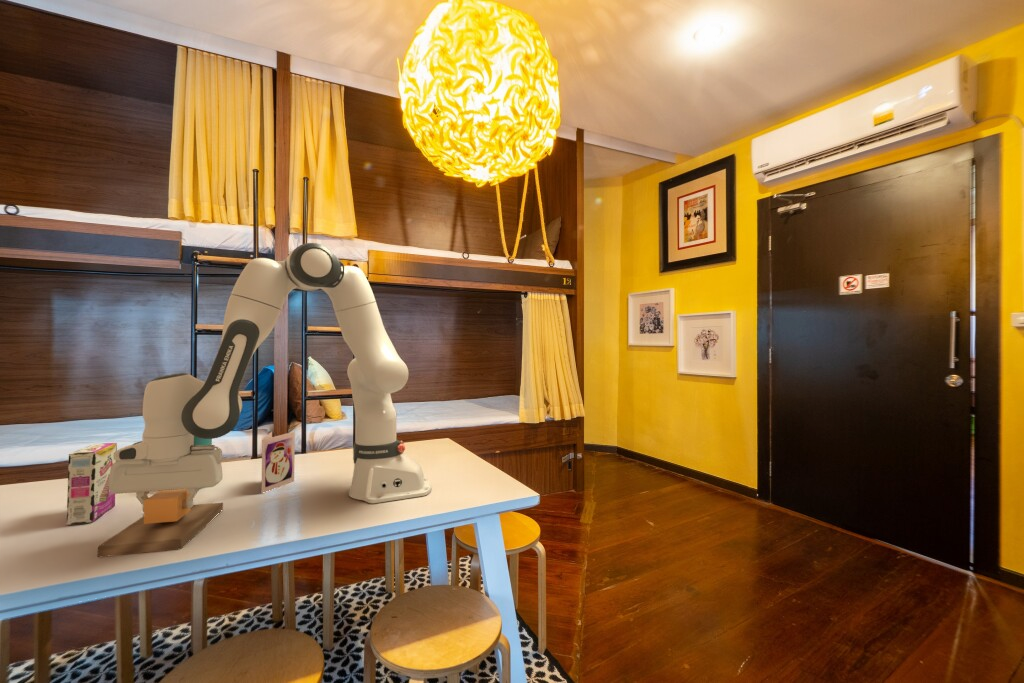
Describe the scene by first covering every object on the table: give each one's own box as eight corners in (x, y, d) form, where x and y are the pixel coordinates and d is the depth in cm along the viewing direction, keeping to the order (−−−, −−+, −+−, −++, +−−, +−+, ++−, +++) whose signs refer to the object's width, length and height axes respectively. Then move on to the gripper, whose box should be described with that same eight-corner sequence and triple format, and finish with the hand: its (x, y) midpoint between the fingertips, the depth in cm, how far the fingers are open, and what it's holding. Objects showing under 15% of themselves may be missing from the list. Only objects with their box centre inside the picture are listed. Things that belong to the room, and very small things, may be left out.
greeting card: (264, 494, 116) (264, 440, 116) (243, 491, 118) (243, 438, 118) (296, 481, 126) (296, 431, 127) (277, 478, 129) (277, 430, 129)
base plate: (222, 510, 104) (223, 502, 104) (181, 548, 85) (181, 538, 85) (156, 515, 101) (156, 507, 101) (97, 557, 81) (97, 546, 81)
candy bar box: (94, 523, 97) (95, 452, 97) (65, 526, 95) (66, 454, 95) (117, 505, 107) (118, 441, 107) (91, 508, 105) (92, 443, 105)
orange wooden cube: (190, 510, 96) (190, 488, 96) (176, 521, 90) (177, 498, 91) (159, 512, 95) (160, 490, 95) (143, 523, 89) (144, 500, 89)
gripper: (227, 441, 98) (227, 499, 98) (123, 446, 93) (123, 508, 93) (216, 447, 92) (215, 510, 92) (104, 453, 87) (103, 519, 87)
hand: (168, 509), depth 93 cm, fingers closed on orange wooden cube, 6 cm apart
